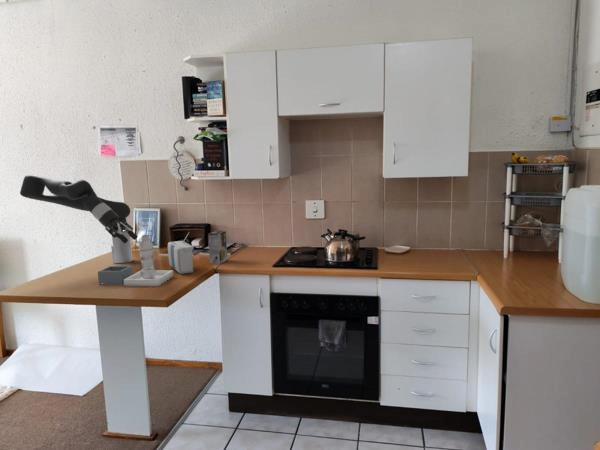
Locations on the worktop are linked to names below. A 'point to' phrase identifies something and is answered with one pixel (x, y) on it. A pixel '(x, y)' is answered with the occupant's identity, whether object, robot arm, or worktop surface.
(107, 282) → the grey open box
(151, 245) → the plastic bottle
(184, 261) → the stereo radio cassette player
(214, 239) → the coffee box
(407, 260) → the worktop surface
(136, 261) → the worktop surface
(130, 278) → the tray
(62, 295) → the worktop surface
